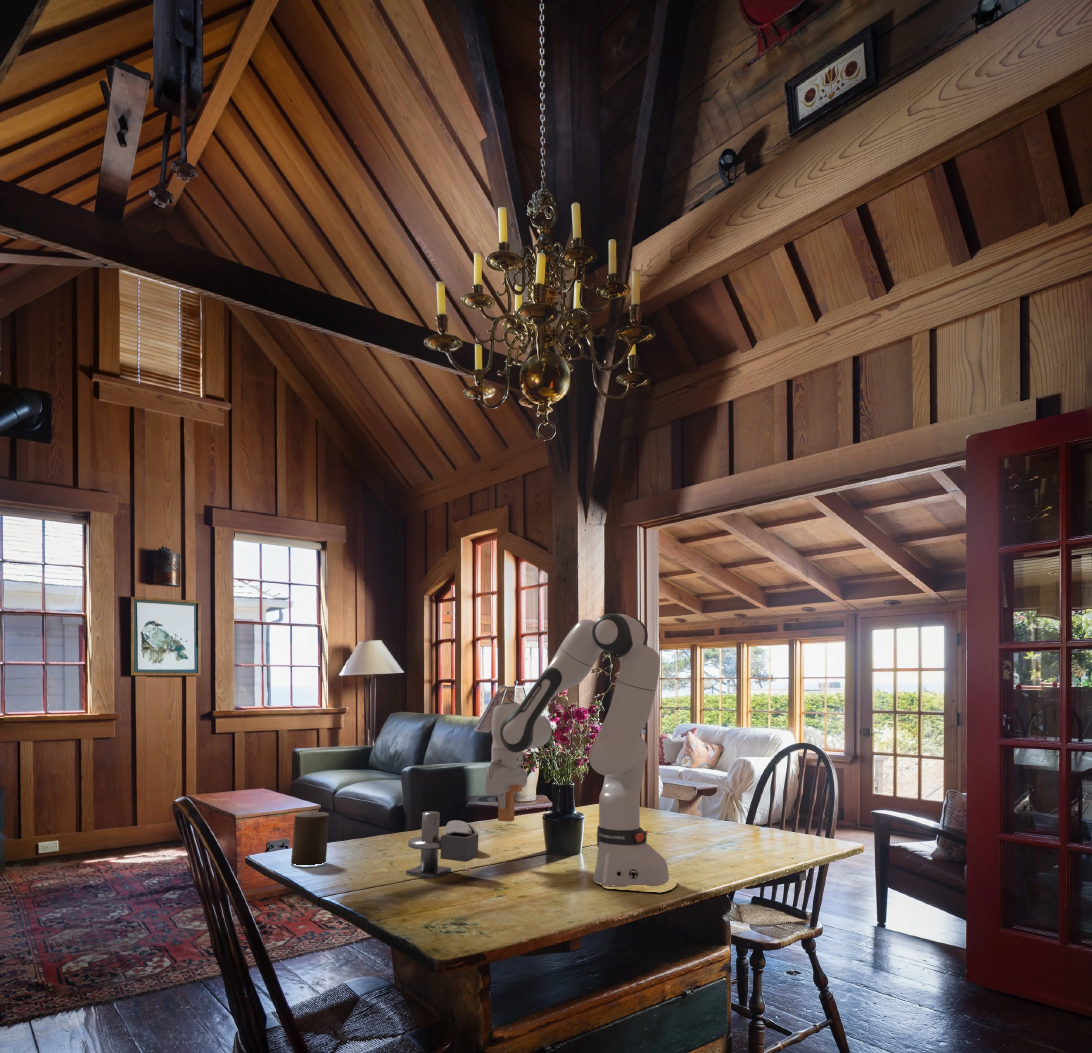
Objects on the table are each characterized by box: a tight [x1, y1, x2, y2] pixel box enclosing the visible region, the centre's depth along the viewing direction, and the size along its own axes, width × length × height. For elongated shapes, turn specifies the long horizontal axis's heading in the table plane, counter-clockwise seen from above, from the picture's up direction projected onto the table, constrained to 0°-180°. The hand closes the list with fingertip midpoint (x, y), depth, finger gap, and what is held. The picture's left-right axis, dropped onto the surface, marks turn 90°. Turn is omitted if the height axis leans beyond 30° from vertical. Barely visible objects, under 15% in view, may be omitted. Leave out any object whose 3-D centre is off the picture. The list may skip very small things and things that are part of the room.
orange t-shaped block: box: [497, 785, 523, 823], centre depth 244 cm, size 9×2×10 cm, turn 66°
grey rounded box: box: [439, 819, 479, 851], centre depth 260 cm, size 17×5×10 cm, turn 32°
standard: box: [405, 810, 479, 880], centre depth 231 cm, size 20×12×16 cm, turn 65°
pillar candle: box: [290, 809, 330, 865], centre depth 241 cm, size 10×10×15 cm
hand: (506, 807), depth 244 cm, fingers closed on orange t-shaped block, 2 cm apart
